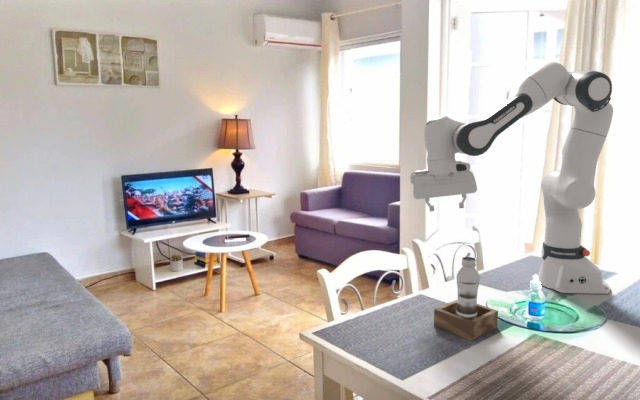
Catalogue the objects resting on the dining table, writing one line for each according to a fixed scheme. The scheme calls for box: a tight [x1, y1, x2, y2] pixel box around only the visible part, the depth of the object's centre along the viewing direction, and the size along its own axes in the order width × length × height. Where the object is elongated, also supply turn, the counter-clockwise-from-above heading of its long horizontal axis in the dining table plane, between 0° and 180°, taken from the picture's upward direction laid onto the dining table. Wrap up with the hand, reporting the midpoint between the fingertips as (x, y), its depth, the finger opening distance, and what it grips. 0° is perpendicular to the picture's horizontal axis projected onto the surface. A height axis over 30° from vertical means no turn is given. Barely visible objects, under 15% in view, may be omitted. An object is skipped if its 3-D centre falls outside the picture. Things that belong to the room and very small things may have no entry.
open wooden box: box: [433, 299, 499, 342], centre depth 141 cm, size 12×12×5 cm
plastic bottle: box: [455, 256, 481, 321], centre depth 140 cm, size 6×7×20 cm
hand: (446, 209), depth 163 cm, fingers open, 8 cm apart
